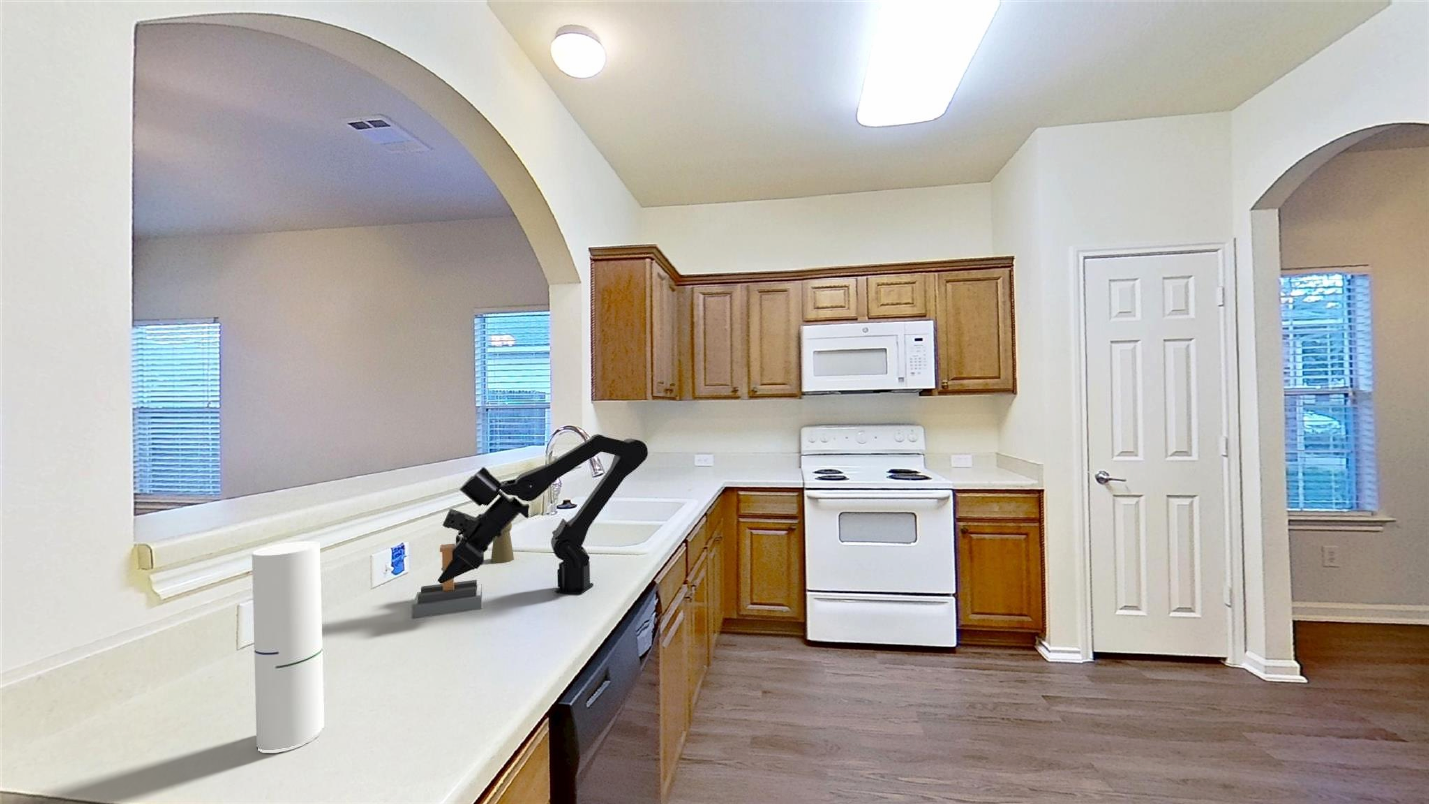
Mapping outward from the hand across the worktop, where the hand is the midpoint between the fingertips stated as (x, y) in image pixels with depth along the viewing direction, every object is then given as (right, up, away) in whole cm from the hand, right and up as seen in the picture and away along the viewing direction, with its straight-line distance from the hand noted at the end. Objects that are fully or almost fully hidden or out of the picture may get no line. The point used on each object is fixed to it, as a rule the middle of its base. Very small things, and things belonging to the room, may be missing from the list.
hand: (441, 576), depth 122 cm
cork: (0, -7, +36) cm, 36 cm away
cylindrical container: (+3, -7, -47) cm, 47 cm away
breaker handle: (+1, -4, +1) cm, 4 cm away
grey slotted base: (+1, -7, 0) cm, 7 cm away
